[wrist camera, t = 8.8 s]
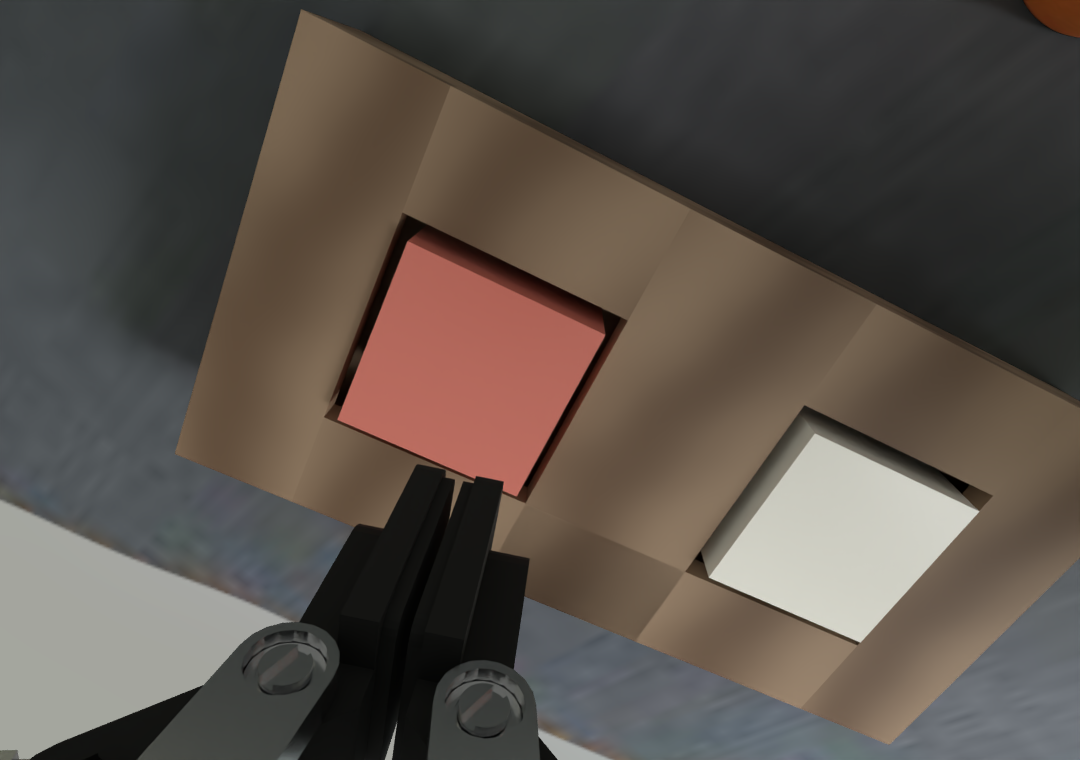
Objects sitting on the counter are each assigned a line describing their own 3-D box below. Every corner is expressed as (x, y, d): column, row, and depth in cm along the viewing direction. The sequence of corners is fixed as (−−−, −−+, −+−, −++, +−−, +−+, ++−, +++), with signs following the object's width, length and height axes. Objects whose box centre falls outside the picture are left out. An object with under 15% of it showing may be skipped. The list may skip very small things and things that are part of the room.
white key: (930, 462, 23) (979, 511, 20) (828, 583, 25) (860, 642, 22) (784, 392, 22) (815, 433, 19) (692, 523, 24) (708, 577, 21)
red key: (600, 304, 21) (605, 334, 18) (522, 450, 23) (516, 496, 20) (429, 222, 20) (407, 241, 17) (365, 381, 22) (337, 419, 20)
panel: (1064, 392, 24) (1179, 459, 20) (839, 644, 29) (889, 745, 25) (361, 30, 21) (301, 9, 16) (245, 391, 26) (174, 453, 21)
